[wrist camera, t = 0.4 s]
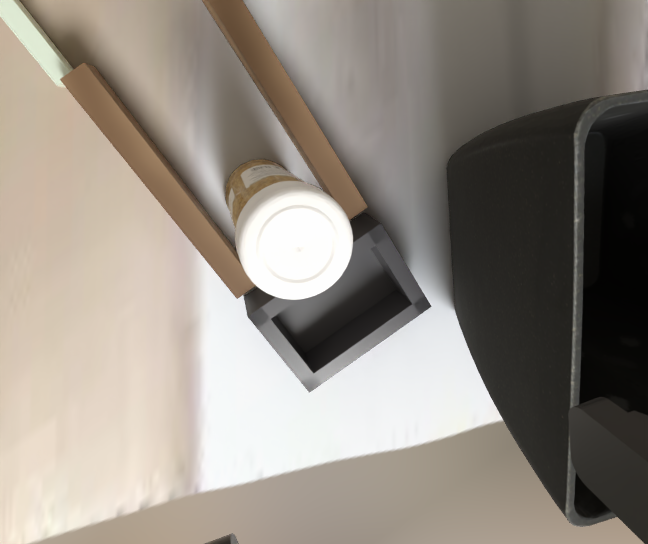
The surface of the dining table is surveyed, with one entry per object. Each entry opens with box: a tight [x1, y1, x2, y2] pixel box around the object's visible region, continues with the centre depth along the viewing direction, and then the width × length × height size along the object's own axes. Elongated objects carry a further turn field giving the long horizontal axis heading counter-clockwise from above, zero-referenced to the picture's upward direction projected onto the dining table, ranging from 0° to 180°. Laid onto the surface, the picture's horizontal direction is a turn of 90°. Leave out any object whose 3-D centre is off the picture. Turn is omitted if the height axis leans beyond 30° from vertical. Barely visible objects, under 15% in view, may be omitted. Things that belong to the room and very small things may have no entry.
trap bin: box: [244, 213, 431, 393], centre depth 32 cm, size 10×7×4 cm
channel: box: [60, 0, 368, 299], centre depth 28 cm, size 10×15×2 cm, turn 33°
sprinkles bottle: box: [225, 159, 353, 300], centre depth 24 cm, size 5×5×13 cm
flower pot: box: [447, 90, 648, 527], centre depth 28 cm, size 19×19×17 cm
